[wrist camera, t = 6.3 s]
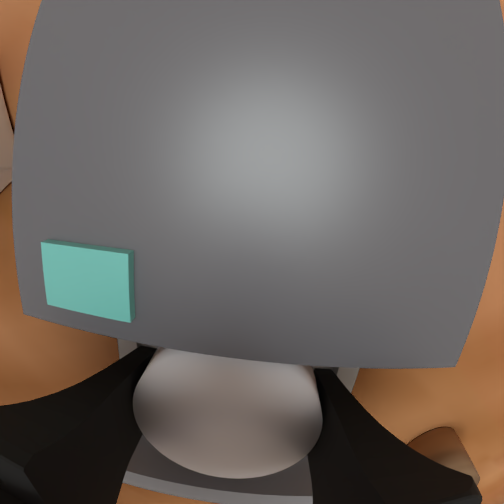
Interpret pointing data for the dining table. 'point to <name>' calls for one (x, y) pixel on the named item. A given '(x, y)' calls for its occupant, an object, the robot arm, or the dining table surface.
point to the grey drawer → (217, 488)
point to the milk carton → (5, 145)
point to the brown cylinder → (445, 450)
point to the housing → (262, 175)
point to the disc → (228, 412)
